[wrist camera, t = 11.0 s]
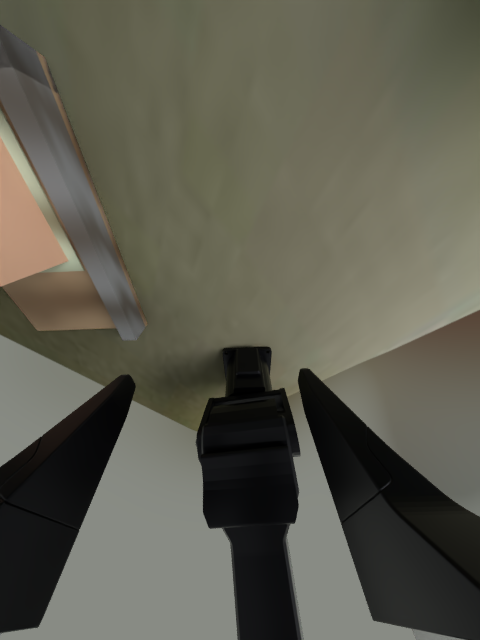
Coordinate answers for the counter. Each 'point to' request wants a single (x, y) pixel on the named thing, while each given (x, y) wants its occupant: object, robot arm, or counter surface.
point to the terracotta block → (22, 227)
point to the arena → (61, 206)
